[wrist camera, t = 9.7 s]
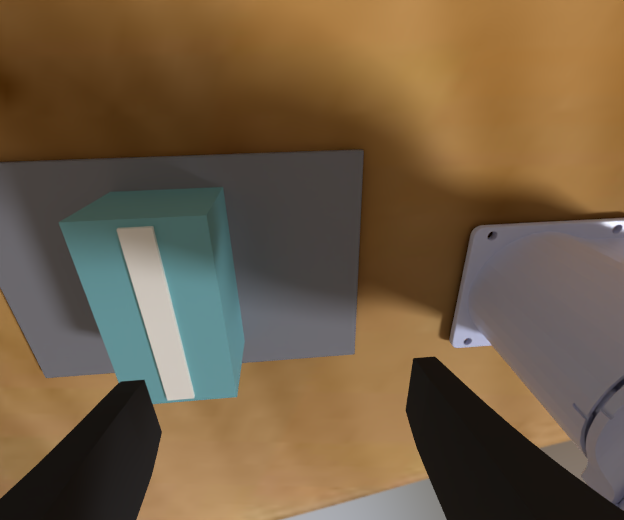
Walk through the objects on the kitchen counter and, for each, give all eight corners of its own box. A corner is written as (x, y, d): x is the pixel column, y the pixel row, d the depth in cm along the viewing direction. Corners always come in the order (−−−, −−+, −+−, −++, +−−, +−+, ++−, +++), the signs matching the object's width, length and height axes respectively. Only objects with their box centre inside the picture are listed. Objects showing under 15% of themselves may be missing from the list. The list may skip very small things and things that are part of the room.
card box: (244, 341, 20) (236, 399, 16) (155, 347, 19) (126, 408, 16) (223, 186, 16) (205, 216, 12) (110, 191, 15) (56, 224, 12)
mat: (361, 149, 16) (363, 150, 15) (353, 349, 21) (354, 354, 21) (-53, 164, 14) (-61, 165, 14) (50, 372, 20) (45, 378, 19)
